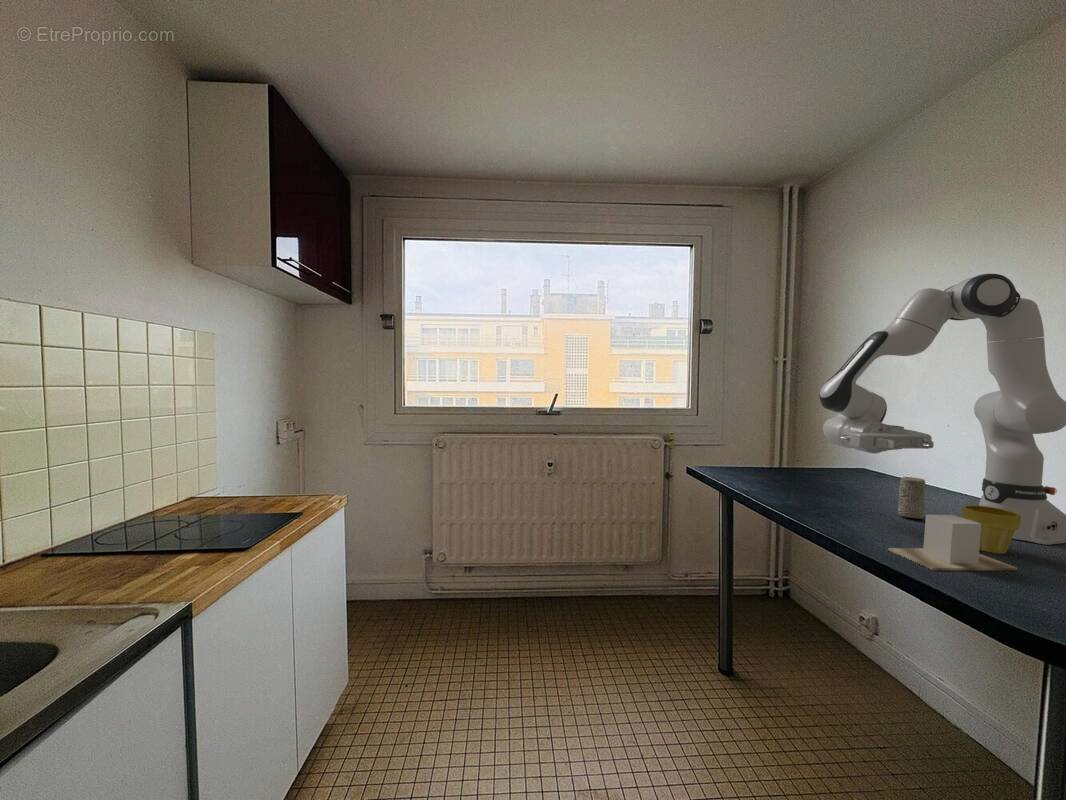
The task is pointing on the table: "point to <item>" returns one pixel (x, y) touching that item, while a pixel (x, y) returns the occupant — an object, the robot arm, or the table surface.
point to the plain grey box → (952, 538)
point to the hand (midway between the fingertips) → (913, 444)
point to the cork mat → (937, 564)
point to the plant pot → (993, 526)
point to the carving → (911, 497)
